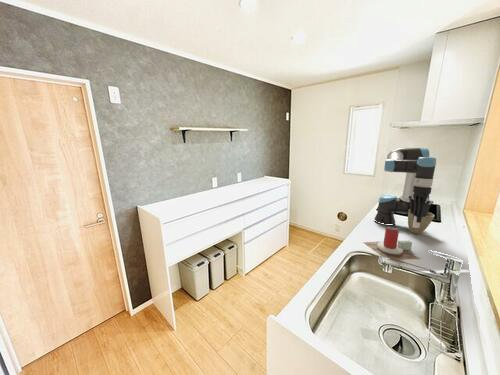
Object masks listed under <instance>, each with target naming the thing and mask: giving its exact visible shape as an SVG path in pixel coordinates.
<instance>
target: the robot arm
mask: <svg viewBox="0 0 500 375" xmlns="http://www.w3.org/2000/svg"><path fill="white" fill-rule="evenodd" d="M436 165H437V158H436V157H432V156H431V157H430V150H429V148H427V147H426V148H425V147H408V148H407V147H400V148H397V149H394V150H393V149H392V150H391V151H390V152H389V153H388V154H387V156H386V160H385V161H384V168H383V169H384V170H383V171H384V172H387V173H388V172H389V173H404V174H405V173H406V174H405V178H404V179H405V180H404V185H403V190H402V194H401V195H400V196H399V198H397V196H395V195H382V196H380V197H379V199H378V206H377V212H376V215H375V217H374V219H375V220H376V221H377V222H380V223H384V224H395V225H396V220H395V219H396V218H395V213H398V214H407V215H408V212H409V209H410V213H412V214H413V226H412V227H414V228H419V226H420V223H421V219H422V217H426V215H427V213H428V212H429V210H430V209H431V205H432V204H433V203H434V200H431V199H430V195H431V194H432V189H433V188H432V186H433V182H434V174H435V170H436Z"/></svg>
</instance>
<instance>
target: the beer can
mask: <svg viewBox="0 0 500 375" xmlns="http://www.w3.org/2000/svg"><path fill="white" fill-rule="evenodd" d="M398 241H399V229H398V228H397V227H394V226H386V229H385V231H384V238H383V242H384V246H385V247H387V248H390V249H395V248H396V247H397V245H398Z"/></svg>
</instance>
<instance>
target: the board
mask: <svg viewBox="0 0 500 375" xmlns="http://www.w3.org/2000/svg"><path fill="white" fill-rule="evenodd" d="M379 242H380V241H364V242H362V243H363V244H364V245H365V246H367V247H368V248H370V249H371V250H373V252H376V253H377V254H378V255H379V256H381V257H382V256H383V257H382V258H384V257H387V258H390V259H393V260H392V261H394V260H397V261H398V260H400V261H401V260H421V258H420V257H418V256H417V255H415V254H414V253H411V252H410V251H409V250H403V253H402V254H401V255H392V254H388V253H385V252H382V251H380V250H379V249H378V248H377V243H379Z"/></svg>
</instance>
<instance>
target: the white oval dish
mask: <svg viewBox="0 0 500 375" xmlns="http://www.w3.org/2000/svg"><path fill="white" fill-rule="evenodd" d="M378 242H379V243H377V248H378V249H379V250H380V251H382V252H385V253H388V254H392V255H401V254H402V253H403V250H407V251H410V250H412V246H413V242H412V240H398V241H397V247H396V248H395V249H390V248H387V247H385V246H384V241H378Z"/></svg>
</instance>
